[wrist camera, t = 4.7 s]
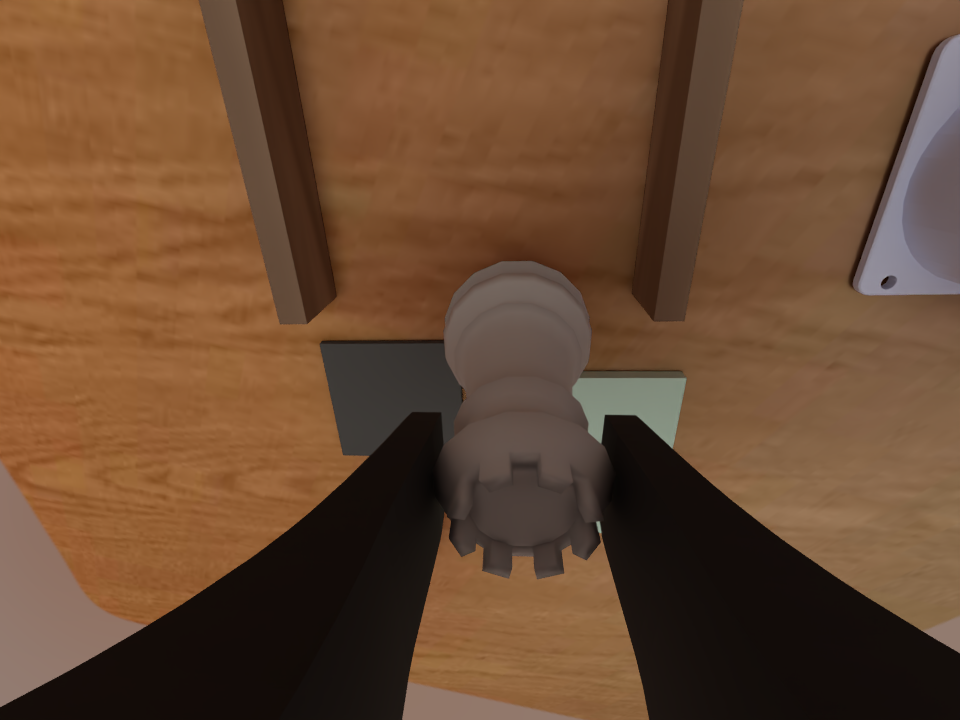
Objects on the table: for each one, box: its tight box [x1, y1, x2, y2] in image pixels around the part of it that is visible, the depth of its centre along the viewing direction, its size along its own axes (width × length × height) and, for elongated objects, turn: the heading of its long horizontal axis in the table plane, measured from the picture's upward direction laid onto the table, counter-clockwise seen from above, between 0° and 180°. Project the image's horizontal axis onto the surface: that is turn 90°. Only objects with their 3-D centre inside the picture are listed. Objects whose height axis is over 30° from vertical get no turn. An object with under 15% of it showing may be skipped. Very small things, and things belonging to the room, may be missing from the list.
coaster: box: [572, 371, 687, 533], centre depth 21 cm, size 9×9×1 cm
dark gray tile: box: [320, 340, 463, 456], centre depth 20 cm, size 6×6×1 cm
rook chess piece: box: [432, 261, 616, 579], centre depth 11 cm, size 4×4×8 cm
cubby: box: [199, 0, 744, 324], centre depth 14 cm, size 14×14×3 cm
